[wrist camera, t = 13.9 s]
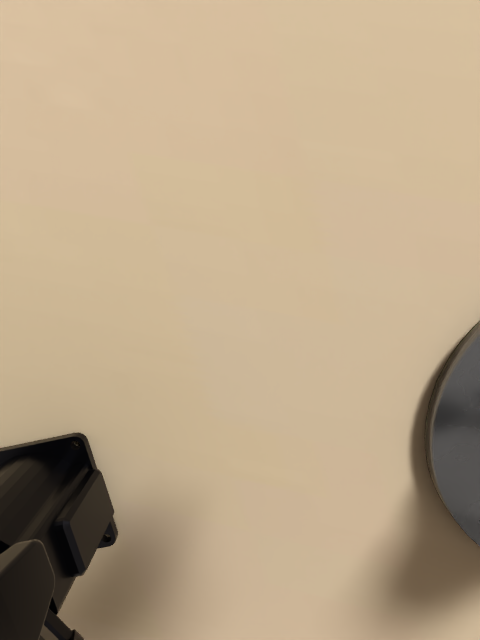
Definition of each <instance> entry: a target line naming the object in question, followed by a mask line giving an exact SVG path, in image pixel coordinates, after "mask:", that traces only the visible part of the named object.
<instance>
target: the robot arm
mask: <svg viewBox="0 0 480 640" xmlns="http://www.w3.org/2000/svg"><path fill="white" fill-rule="evenodd" d="M74 441H77V442H79V443H80V446H77V445H75V444H74ZM113 514H114V509H113V506H112V503H111V500H110V497H109V494H108V491H107V488H106V485H105V482H104V479H103V476H102V473H101V471H99V470H98V469H97V467H96V464H95V460H94V457H93V454H92V451H91V448H90V445H89V442H88V439H87V438H86V436H85V435H84V434H81V433H72V434H67V435H62V436H58V437H53V438H48V439H43V440H38V441H33V442H29V443H24V444H19V445H14V446H9V447H4V448H0V640H84V638H83V637H82V636H81V635H80V634H79V633H78V632H77V631H76V630H72V631H71V630H70V629H69V628H68V627H67V626H66V625H65V624H64V623H63V622H62V621H61V620H60V619H59V618H58V617H57V616H56V615H57V614H58V612H59V610H60V608H61V606H62V604H63V602H64V600H65V598H66V596H67V594H68V592H69V590H70V588H71V586H72V584H73V582H74V580H75V578H76V577H77V576H82V575H83V574H84V573H85V571H86V570H87V568H88V566H89V564H90V562H91V560H92V558H93V556H94V554H95V551H96V549H97V548H103V547H108V546H111V545H113V544H114V543H115V541H116V538H117V536H118V531H117V528H116V525H115V522H114V519H113ZM105 534H108V535H110V537H107V536H105Z"/></svg>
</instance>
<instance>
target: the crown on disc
mask: <svg viewBox="0 0 480 640" xmlns="http://www.w3.org/2000/svg"><path fill="white" fill-rule="evenodd" d="M425 448H426V458H427V463H428V467H429V472H430V476H431V478H432V481H433V483H434V486H435V488H436V491H437V493H438V494H439V496H440V498H441V500H442V501H443V503H444V505H445V506H446V508H447V509H448V511H449V512H450V514H451V515H452V516H453V518H454V519H455V520H456V522H457V523H458V524H459V525H460V527H461V528H462V529H463V530H464V532H465V533H466V534H467V535H468V536H469V537H470V538H471V539H472V540H473V541H474V542H476V543H477V544H478V545H479V546H480V322H479V323H477V324H476V325H475V326H474V327H473V328H472V329H471V331H470V332H469V333H468V334H467V335H466V336H465V338H464V339H463V340H462V341H461V342H460V343H459V345H458V346H457V348H456V349H455V350H454V352H453V353H452V355H451V356H450V358H449V359H448V361H447V362H446V364H445V366H444V368H443V370H442V372H441V374H440V376H439V378H438V380H437V382H436V385H435V388H434V391H433V394H432V397H431V399H430V403H429V408H428V413H427V418H426V428H425Z"/></svg>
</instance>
